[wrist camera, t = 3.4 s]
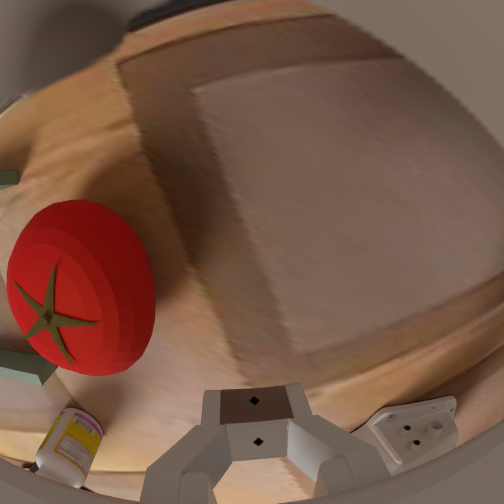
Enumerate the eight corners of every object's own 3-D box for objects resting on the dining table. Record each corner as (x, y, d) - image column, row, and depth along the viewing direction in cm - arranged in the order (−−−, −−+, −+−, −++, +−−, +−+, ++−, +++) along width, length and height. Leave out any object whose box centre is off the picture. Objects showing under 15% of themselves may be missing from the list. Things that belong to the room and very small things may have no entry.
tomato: (37, 216, 23) (-34, 234, 13) (146, 180, 24) (91, 177, 13) (78, 345, 26) (32, 400, 16) (185, 331, 27) (164, 402, 17)
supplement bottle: (72, 434, 30) (41, 495, 17) (55, 401, 28) (14, 464, 16) (111, 442, 30) (85, 511, 17) (95, 409, 28) (59, 483, 16)
